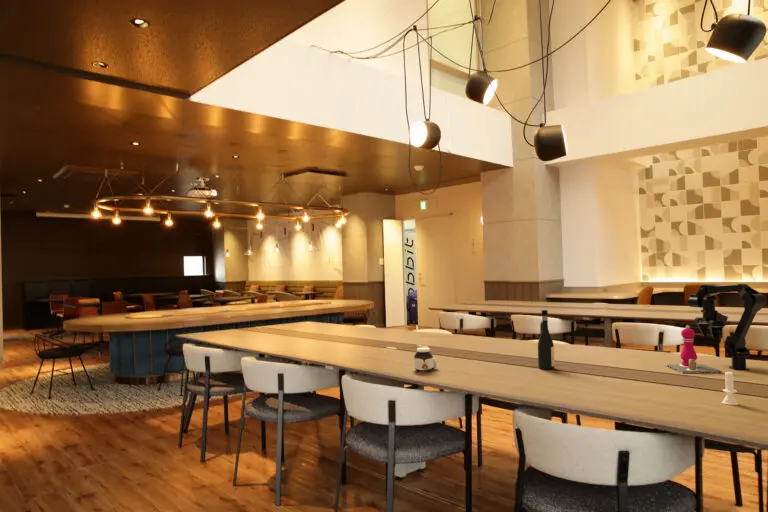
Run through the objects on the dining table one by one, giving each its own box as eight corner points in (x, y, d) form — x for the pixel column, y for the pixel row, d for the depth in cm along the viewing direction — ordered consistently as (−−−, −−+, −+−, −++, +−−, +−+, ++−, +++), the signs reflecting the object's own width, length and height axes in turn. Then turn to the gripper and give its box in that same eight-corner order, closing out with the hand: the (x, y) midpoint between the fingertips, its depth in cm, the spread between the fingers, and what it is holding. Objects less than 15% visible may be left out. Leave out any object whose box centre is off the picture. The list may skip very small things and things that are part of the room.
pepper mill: (700, 366, 262) (699, 326, 263) (685, 367, 262) (684, 326, 263) (692, 364, 269) (690, 324, 270) (677, 364, 270) (676, 324, 270)
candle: (732, 401, 203) (730, 369, 203) (742, 404, 197) (740, 372, 198) (718, 401, 202) (717, 370, 203) (728, 405, 197) (726, 372, 197)
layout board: (722, 373, 252) (721, 360, 252) (682, 373, 254) (682, 360, 254) (703, 366, 269) (702, 354, 269) (666, 366, 270) (666, 354, 271)
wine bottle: (552, 366, 278) (550, 309, 279) (556, 369, 270) (554, 310, 271) (537, 366, 279) (535, 309, 280) (540, 369, 271) (538, 310, 272)
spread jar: (413, 372, 275) (412, 349, 275) (416, 367, 286) (416, 346, 286) (436, 372, 272) (435, 349, 272) (439, 368, 283) (438, 346, 283)
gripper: (735, 309, 266) (736, 340, 265) (715, 306, 284) (716, 335, 284) (712, 310, 266) (713, 341, 266) (693, 307, 285) (694, 336, 285)
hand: (710, 338), depth 275 cm, fingers open, 9 cm apart
